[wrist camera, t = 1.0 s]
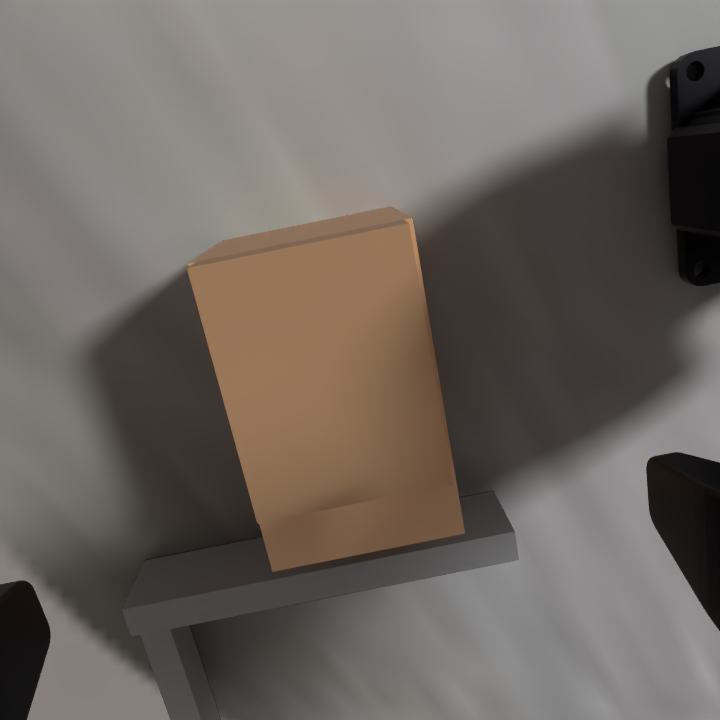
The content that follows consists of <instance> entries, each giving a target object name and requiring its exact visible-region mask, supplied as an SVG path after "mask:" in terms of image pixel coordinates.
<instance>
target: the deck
mask: <svg viewBox="0 0 720 720" xmlns="http://www.w3.org/2000/svg"><path fill="white" fill-rule="evenodd" d="M459 500H460V506H461V512H462V518H463V524H464V530H465V534H460V535H455V536H450V537H445V538H440V539H435V540H430V541H425V542H420V543H415V544H410V545H405V546H400V547H395V548H390V549H385V550H380V551H375V552H370V553H365V554H360V555H355V556H350V557H345V558H340V559H335V560H330V561H325V562H320V563H315V564H310V565H305V566H300V567H295V568H290V569H284V570H279V571H274V572H272V568H271V565H270V561H269V557H268V554H267V550H266V547H265V543H264V539H263V537H260V538H255V539H250V540H245V541H240V542H235V543H230V544H225V545H220V546H215V547H210V548H205V549H200V550H195V551H190V552H186V553H181V554H176V555H171V556H166V557H161V558H156V559H151V560H146V561H144V563H143V565H142V567H141V569H140V572H139V574H138V576H137V578H136V580H135V582H134V584H133V586H132V589H131V591H130V593H129V595H128V597H127V599H126V601H125V603H124V605H123V608H122V613H123V616H124V618H125V621H126V624H127V627H128V629H129V632H130V635H131V637H134V636H139V635H140V637H141V640H142V642H143V645H144V648H145V651H146V653H147V656H148V659H149V662H150V664H151V667H152V670H153V673H154V675H155V678H156V681H157V684H158V686H159V689H160V692H161V695H162V697H163V700H164V703H165V706H166V709H167V711H168V714H169V717H170V719H171V720H221V719H220V716H219V713H218V710H217V707H216V704H215V701H214V698H213V695H212V692H211V689H210V686H209V683H208V680H207V677H206V674H205V671H204V668H203V665H202V662H201V659H200V656H199V653H198V650H197V647H196V644H195V641H194V638H193V635H192V632H191V629H190V626H189V625H194V624H199V623H204V622H209V621H214V620H219V619H224V618H229V617H234V616H239V615H244V614H249V613H254V612H259V611H264V610H269V609H274V608H279V607H284V606H289V605H294V604H300V603H305V602H310V601H315V600H320V599H325V598H330V597H335V596H340V595H345V594H350V593H355V592H360V591H365V590H370V589H375V588H380V587H385V586H390V585H395V584H400V583H405V582H410V581H415V580H420V579H425V578H430V577H435V576H440V575H445V574H450V573H455V572H460V571H465V570H470V569H475V568H481V567H486V566H491V565H496V564H501V563H506V562H511V561H516V560H519V558H518V551H517V544H516V537H515V531H514V529H513V527H512V525H511V523H510V522H509V520H508V518H507V516H506V514H505V512H504V510H503V508H502V506H501V504H500V502H499V500H498V498H497V496H496V495H495V493H494V491H490V492H485V493H480V494H475V495H470V496H465V497H460V498H459Z"/></svg>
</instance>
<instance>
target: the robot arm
mask: <svg viewBox="0 0 720 720" xmlns="http://www.w3.org/2000/svg"><path fill="white" fill-rule="evenodd" d="M689 64H692V65H694V66H695V68H696V71H697V72H696V77H695V78H694V79H693V81H690V80H689V79H688V78H687V75H686V70H687V67H688V66H689ZM670 97H671V118H672V132H671V134H670V135H669V137H668V139H667V150H668V170H669V190H670V210H671V223H672V224H673V225H674V226H675V227H676V228H677V244H678V265H679V274H680V277H681V278H682V279H683V281H685V282H687V283H689V284H692V285H695V286H705V285H710V284H715V283H720V46H718V47H713V48H708V49H704V50H699V51H694V52H691V53H688V54H685V55H683V56H681V57H679V58H678V59H677V60H676V61H675V62H674V64H673V66H672V68H671V70H670ZM701 261H702V263H703V270H702V272H701V273H700V274H698V275H696V276H695V273H694V269H695V266H696V265H697V264H698V263H699V262H701ZM646 471H647V486H648V501H649V511H650V516H651V519H652V522H653V524H654V526H655V528H656V529H657V531H658V533H659V534H660V536H661V538H662V539H663V541H664V543H665V545H666V546H667V548H668V550H669V551H670V553H671V555H672V556H673V558H674V560H675V561H676V563H677V565H678V566H679V568H680V570H681V571H682V573H683V575H684V576H685V578H686V580H687V581H688V583H689V585H690V586H691V588H692V590H693V591H694V593H695V595H696V596H697V598H698V600H699V601H700V603H701V604H702V606H703V608H704V609H705V611H706V612H707V614H708V615H709V617H710V618H711V620H712V621H713V622H714V624H715V625H716V627H717V628H718V629H719V631H720V463H719V462H715V461H711V460H707V459H704V458H700V457H696V456H692V455H688V454H684V453H679V452H674V453H669V454H664V455H658V456H654V457H651V458H650V459H649V460H648V462H647V467H646ZM49 644H50V627H49V624H48V622H47V619H46V617H45V614H44V612H43V609H42V607H41V605H40V602H39V600H38V597H37V595H36V592H35V590H34V588H33V586H32V585H31V584H30V583H29V582H27V581H16V582H10V583H5V584H0V720H27V717H28V713H29V710H30V707H31V703H32V701H33V697H34V694H35V690H36V687H37V684H38V681H39V678H40V673H41V671H42V668H43V664H44V661H45V657H46V654H47V651H48V648H49Z"/></svg>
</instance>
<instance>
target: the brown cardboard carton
mask: <svg viewBox="0 0 720 720" xmlns="http://www.w3.org/2000/svg"><path fill="white" fill-rule="evenodd" d="M187 271H188V274H189V278H190V282H191V285H192V289H193V293H194V296H195V300H196V303H197V307H198V311H199V314H200V318H201V322H202V325H203V329H204V332H205V336H206V340H207V343H208V347H209V351H210V354H211V358H212V361H213V365H214V369H215V372H216V376H217V379H218V383H219V387H220V390H221V394H222V398H223V401H224V405H225V408H226V412H227V416H228V419H229V423H230V427H231V430H232V434H233V437H234V441H235V445H236V448H237V452H238V456H239V459H240V463H241V466H242V470H243V474H244V477H245V481H246V485H247V488H248V492H249V495H250V499H251V503H252V506H253V510H254V514H255V517H256V521H257V523H259V525H260V528H261V532H262V536H263V539H264V543H265V547H266V550H267V554H268V557H269V561H270V565H271V568H272V572H274V571H279V570H284V569H290V568H295V567H300V566H305V565H310V564H315V563H320V562H325V561H330V560H335V559H340V558H345V557H350V556H355V555H360V554H365V553H370V552H375V551H380V550H385V549H390V548H395V547H400V546H405V545H410V544H415V543H420V542H425V541H430V540H435V539H440V538H445V537H450V536H455V535H460V534H465V530H464V524H463V518H462V512H461V506H460V500H459V494H458V488H457V482H456V476H455V470H454V464H453V458H452V452H451V446H450V440H449V434H448V428H447V422H446V416H445V410H444V404H443V398H442V392H441V386H440V380H439V374H438V368H437V362H436V356H435V350H434V344H433V338H432V332H431V326H430V320H429V314H428V308H427V302H426V296H425V290H424V284H423V278H422V272H421V266H420V260H419V254H418V248H417V242H416V236H415V230H414V224H413V218H412V217H410V216H408V215H406V214H404V213H402V212H400V211H399V210H397V209H395V208H393V207H386V208H381V209H376V210H371V211H366V212H361V213H356V214H351V215H346V216H341V217H336V218H332V219H327V220H322V221H317V222H312V223H307V224H302V225H297V226H292V227H287V228H282V229H277V230H273V231H268V232H263V233H258V234H253V235H248V236H243V237H238V238H233V239H228V240H223V241H222V242H220V243H219V244H217V245H215V246H214V247H212V248H211V249H209V250H208V251H206V252H205V253H203V254H201V255H200V256H198V257H197V258H195V259H194V260H192V261H191V262H189V263H188V268H187Z"/></svg>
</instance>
